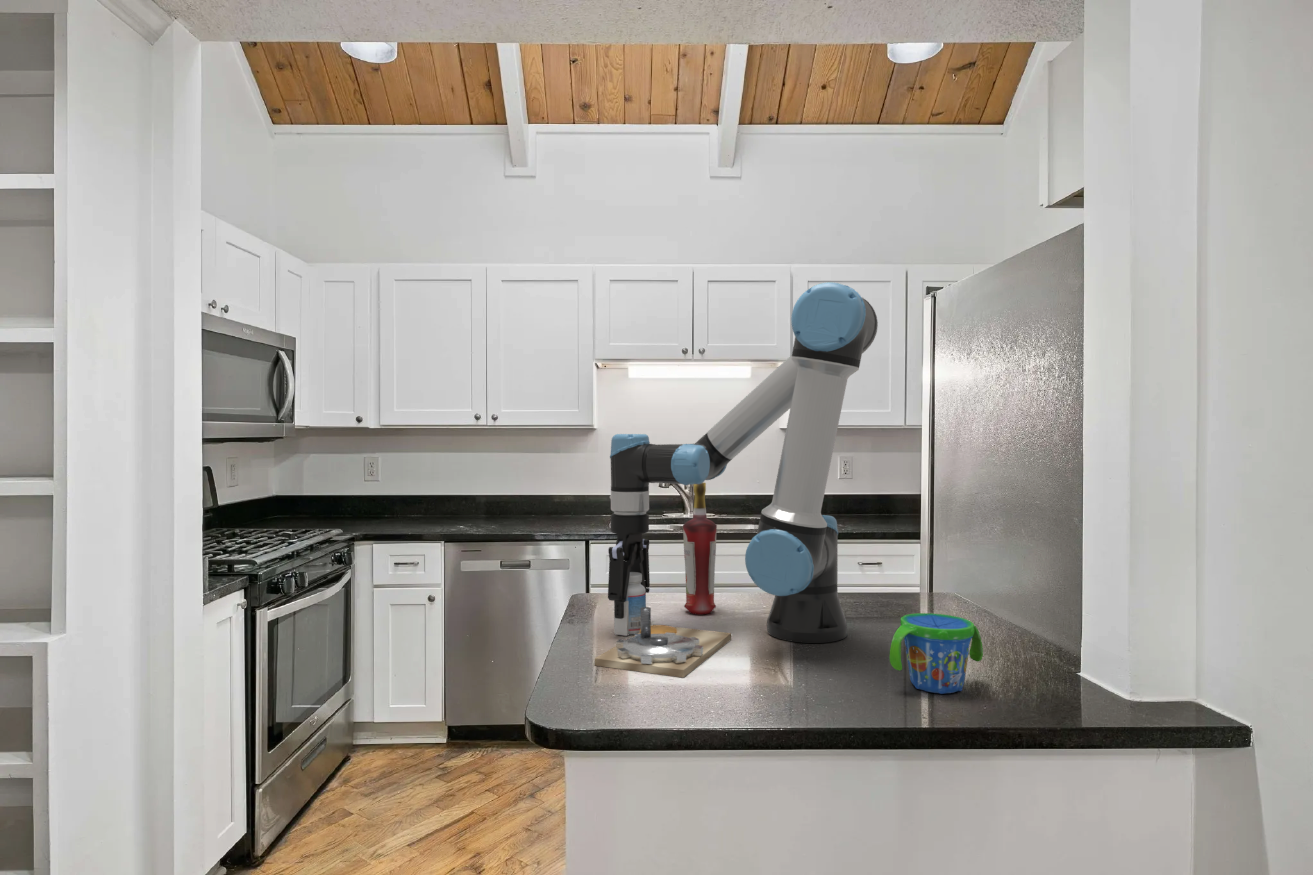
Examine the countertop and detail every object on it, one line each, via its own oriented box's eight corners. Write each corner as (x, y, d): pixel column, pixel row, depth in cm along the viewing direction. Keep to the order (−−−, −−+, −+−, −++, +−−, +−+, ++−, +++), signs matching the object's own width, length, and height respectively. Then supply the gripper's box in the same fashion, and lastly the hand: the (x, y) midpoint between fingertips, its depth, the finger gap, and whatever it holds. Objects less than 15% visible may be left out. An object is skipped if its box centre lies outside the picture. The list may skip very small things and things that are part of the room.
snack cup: (960, 672, 121) (960, 609, 121) (1005, 694, 111) (1004, 625, 111) (872, 680, 118) (872, 615, 118) (909, 703, 107) (909, 632, 107)
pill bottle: (647, 627, 150) (647, 571, 150) (644, 635, 144) (643, 577, 144) (617, 626, 151) (617, 570, 151) (612, 635, 145) (612, 576, 145)
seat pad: (682, 629, 144) (682, 627, 144) (667, 638, 138) (667, 636, 138) (649, 625, 147) (649, 623, 147) (633, 634, 141) (633, 632, 141)
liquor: (680, 608, 166) (680, 481, 166) (713, 607, 167) (713, 481, 167) (685, 616, 159) (685, 484, 159) (720, 615, 160) (719, 483, 160)
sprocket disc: (720, 656, 126) (719, 618, 126) (640, 670, 119) (640, 629, 119) (675, 635, 139) (675, 600, 139) (601, 646, 132) (601, 610, 132)
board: (731, 639, 141) (731, 633, 141) (683, 677, 119) (683, 670, 119) (653, 630, 148) (653, 624, 148) (594, 665, 126) (594, 658, 126)
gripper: (633, 507, 158) (633, 616, 158) (588, 516, 140) (588, 640, 140) (666, 508, 155) (666, 620, 155) (624, 518, 137) (624, 645, 137)
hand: (629, 629), depth 148 cm, fingers open, 6 cm apart
